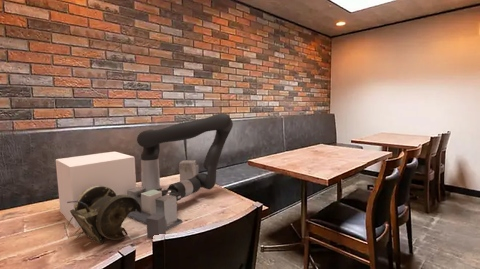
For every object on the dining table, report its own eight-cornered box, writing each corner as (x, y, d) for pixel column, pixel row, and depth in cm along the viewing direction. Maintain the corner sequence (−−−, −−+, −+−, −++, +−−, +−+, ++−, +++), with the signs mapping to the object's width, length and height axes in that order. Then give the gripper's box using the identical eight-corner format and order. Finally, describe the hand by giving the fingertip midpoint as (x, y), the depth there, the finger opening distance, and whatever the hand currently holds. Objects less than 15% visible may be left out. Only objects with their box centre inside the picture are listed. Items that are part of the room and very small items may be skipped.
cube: (117, 198, 136) (114, 151, 133) (137, 209, 121) (134, 156, 118) (60, 213, 117) (55, 159, 115) (75, 228, 103) (70, 167, 100)
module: (142, 217, 109) (140, 193, 108) (154, 212, 114) (153, 189, 113) (150, 220, 106) (149, 195, 105) (162, 215, 111) (161, 191, 110)
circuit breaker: (199, 182, 160) (198, 158, 158) (193, 190, 146) (192, 163, 144) (187, 182, 161) (186, 158, 159) (179, 189, 147) (178, 163, 145)
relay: (147, 236, 95) (146, 218, 94) (154, 231, 99) (153, 213, 98) (158, 239, 93) (158, 220, 93) (165, 233, 97) (164, 215, 96)
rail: (124, 215, 114) (123, 190, 112) (142, 208, 121) (141, 185, 120) (164, 231, 99) (163, 202, 98) (182, 222, 106) (181, 195, 105)
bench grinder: (122, 208, 113) (96, 171, 104) (151, 219, 98) (124, 177, 90) (77, 246, 99) (43, 207, 91) (103, 266, 85) (66, 222, 77)
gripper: (170, 179, 126) (139, 188, 113) (191, 184, 118) (161, 194, 104) (170, 194, 127) (140, 205, 114) (192, 200, 118) (162, 213, 105)
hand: (150, 200), depth 109 cm, fingers open, 8 cm apart
